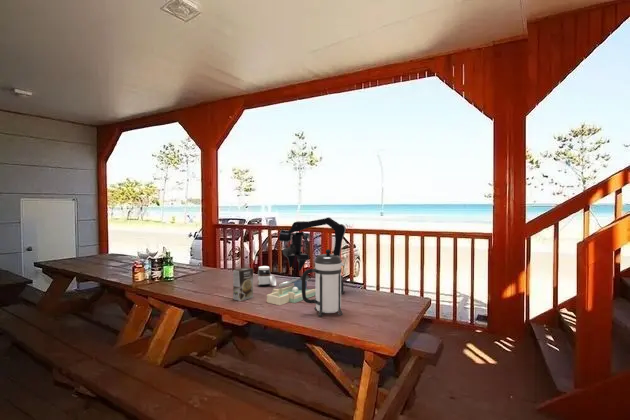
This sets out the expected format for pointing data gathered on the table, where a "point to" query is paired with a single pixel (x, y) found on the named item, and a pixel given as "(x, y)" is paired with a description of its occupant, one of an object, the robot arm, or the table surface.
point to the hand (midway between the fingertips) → (295, 268)
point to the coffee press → (326, 284)
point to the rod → (295, 282)
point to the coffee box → (242, 284)
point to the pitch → (288, 295)
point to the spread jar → (265, 277)
